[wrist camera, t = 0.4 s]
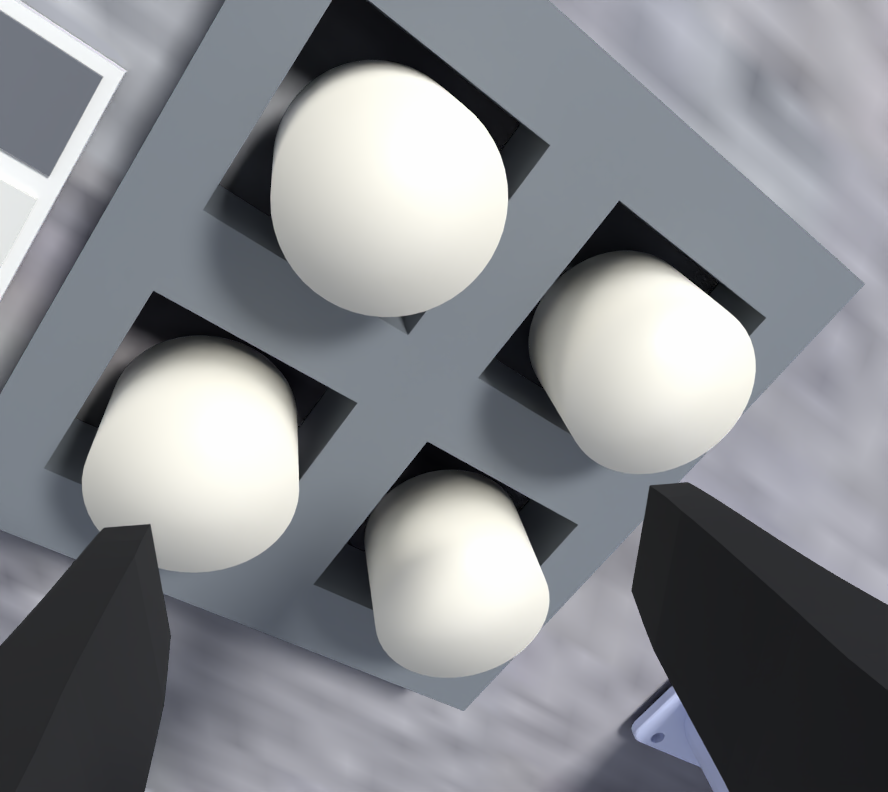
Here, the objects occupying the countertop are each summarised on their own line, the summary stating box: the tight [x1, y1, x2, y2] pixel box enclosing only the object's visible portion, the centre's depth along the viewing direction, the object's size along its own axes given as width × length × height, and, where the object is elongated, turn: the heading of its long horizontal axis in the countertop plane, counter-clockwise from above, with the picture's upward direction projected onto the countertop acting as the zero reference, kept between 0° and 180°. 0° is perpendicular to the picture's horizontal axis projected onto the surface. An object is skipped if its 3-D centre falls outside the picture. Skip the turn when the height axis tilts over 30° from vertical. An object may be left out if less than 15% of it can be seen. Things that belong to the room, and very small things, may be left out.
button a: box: [529, 251, 756, 474], centre depth 18 cm, size 4×4×3 cm
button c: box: [364, 470, 549, 678], centre depth 20 cm, size 4×4×3 cm
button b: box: [270, 60, 508, 317], centre depth 16 cm, size 4×4×3 cm
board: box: [0, 0, 865, 711], centre depth 20 cm, size 15×16×2 cm
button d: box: [82, 335, 299, 573], centre depth 18 cm, size 4×4×3 cm
